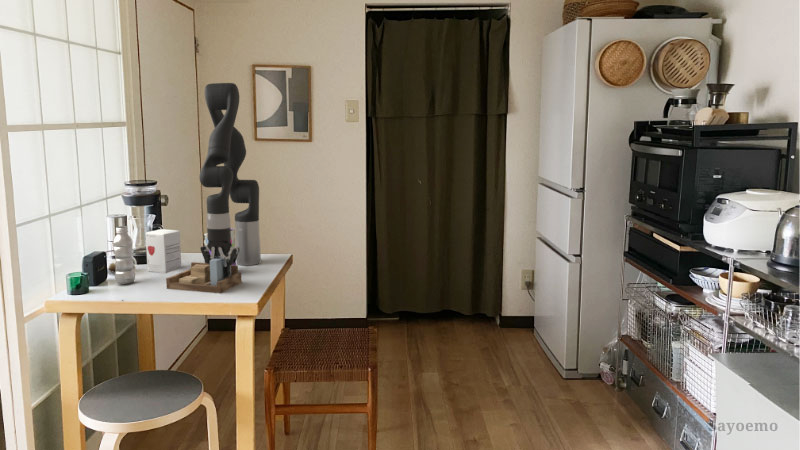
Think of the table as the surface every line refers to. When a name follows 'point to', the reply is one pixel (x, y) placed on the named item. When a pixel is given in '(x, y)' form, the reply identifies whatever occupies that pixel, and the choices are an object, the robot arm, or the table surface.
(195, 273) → the offcut
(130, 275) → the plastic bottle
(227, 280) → the tray
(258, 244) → the robot arm
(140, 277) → the table surface
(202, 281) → the offcut
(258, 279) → the table surface
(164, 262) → the supplement box
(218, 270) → the board
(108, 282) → the table surface
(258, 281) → the table surface
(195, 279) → the offcut
